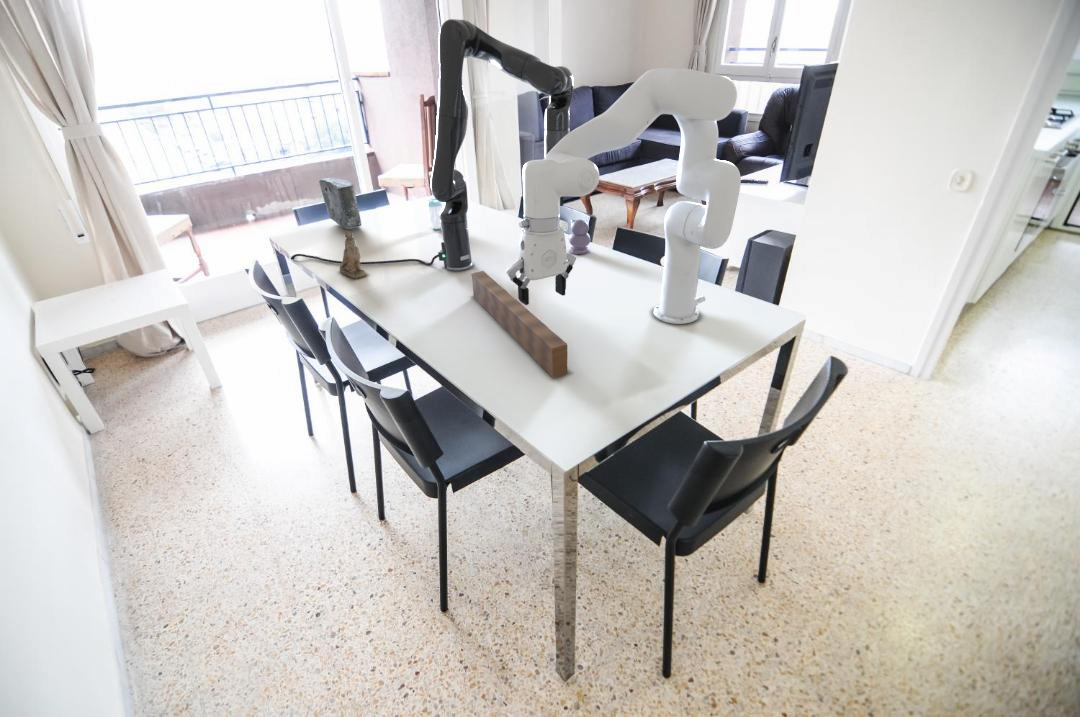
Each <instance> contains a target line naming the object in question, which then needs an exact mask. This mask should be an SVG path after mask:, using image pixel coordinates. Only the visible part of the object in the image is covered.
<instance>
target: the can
mask: <svg viewBox="0 0 1080 717" xmlns="http://www.w3.org/2000/svg"><path fill="white" fill-rule="evenodd" d="M443 206H444V202H439V201H438V200H436V199H435V198H432V199H428V201H427V204H426V207H427V211H428V212H427V213H428V219H429V226H430V228H431V229H433V230H442V229H441V223H440V211H441V210H442V208H443Z"/></svg>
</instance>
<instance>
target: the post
mask: <svg viewBox="0 0 1080 717" xmlns="http://www.w3.org/2000/svg"><path fill="white" fill-rule="evenodd" d="M470 276H471V283H472V284H471V286H472V292H473V298H474V299H475V300H476V301H477V302H478V303H479V305H481V306H482V307H483V308H484V309H485V311H487V313H488V314H490V315H491V316H492V317H493V319H495V321H496V322H497V323H498V324H499V325H500V326H502V328H503V329H504V330H506V332H507V333H508V334H509V335H510V336H511V337H512V338H513V339H514V340H515V342H517V343H518V344H519V345H520V346H521V347H522V348H523V349H524V350H525V351H526V352H527V353H528V355H529V356H531V357H532V358H533V360H534V361H535V362H536V363H537V364H539V366H540V367H541V368H542V369H543V370H545V372H546V373H547V374H548V375H549V376H550V377H551V378H552V379H555V378H558V377H560V376H563V375H566V374H568V343H567V342H566V341H564V340H563V339H562V338H561V337H560V336H559V335H558V334H557V333H555V331H553V330H552V329H551V328H550V327H549V326H547V325H546V324H545V323H544V322H543V321H542V320H540V319H539V318H538V317H537V316H536V315H535V314H534V313H532V312H531V311H530V310H529V309H528V308H527V307H525V305H524V304H523V303H522V302H520V301H519V300H517V299H516V298H515V297H514V296H513V295H512V294H510V293H509V292H508V291H507V290H506V289H505V288H504V287H502V285H500V284H499V283H498V282H497V281H496V280H494V278H492V277H491V276H490V275H489V274H487V273H486V272H485V271H484V270H481V271H476V272H475V271H474V272H471V273H470Z"/></svg>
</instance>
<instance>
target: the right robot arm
mask: <svg viewBox="0 0 1080 717" xmlns="http://www.w3.org/2000/svg"><path fill="white" fill-rule="evenodd" d="M737 98H738V91H737V87H736V84H735V83H734V81H733V80H732V79H731V78H729V77H728V76H725V75H720V74H716V73H710V72H704V71H701V70H696V69H692V68H686V67H655V68H651V69H648V70H647V71H645V72H644V73H643V74H641V75H640V76H639V77H638V78H637V79H636V80H635V81H634V82H633V83H632V84H631V85H630V86H629V87H628V88H627V90H625V91H624V92H623V94H621V96H619V97H618V99H616V101H615V102H614V103H613V104H611V105H610V106H609V107H608V109H606V110H605V111H604V112H602V113H600V114H599V115H597V116H595V117H593V118H591V119H590V120H588V121H586V122H585V123H582V124H581V125H579V126H578V127H576V128H574V129H573V130H571V131H570V133H568V134H567V135H566V136H564V137H563V138H562V139H561V140H560V141H559V142H558V143H557V144H556V145H555V146H554V147H553V148H552V149H551V150H550V151H549V153H548V154H547V155H546V156H545V155H544V158H543V159H542V158H541V159H532V160H529V161H527V162H525V163H524V165H523V167H522V193H523V197H522V198H523V216H522V219H523V220H521V221H519V222H518V226H519V228H520V229H522V230H521V234H520V238H519V247H518V248H519V249H518V260H517V261H516V262H515V263H513V264H512V265H511V266H509V267H508V268H507V269H505V270H506V271H505V272H506V275H507V276H508V278H509V279H510V281H511V282H512V283H514V284H515V285H516V286H517V298H518V301H519V302H520V303H521V304H522V305H524V306H528V305H529V304H530V289H529V288H528V285H529V284H530V282H531V281H537V280H543V279H547V278H550V277H555V278H554V279H555V285H554V286H555V288H554V290H555V292H556V293H557V294H558V295H561V297H563V296H566V290H567V279H568V278H569V274H570V273H571V272H572V270H573V269H574V265H575V262H576V259H577V257H576V255H573V254H571V253H569V252H567V242H566V236H565V230H564V228H563V227H562V226H561V206H560V197H562V196H563V197H576V198H577V197H578V198H579V197H584V196H587V195H590V194H591V193H592V192H594V191H595V189H596V188H597V187H598V185H599V181H600V171H599V168H598V166H597V165H596V164H595V163H594V162H593V161H592V160H590V158H592V157H594V156H597V155H600V154H604V153H608V152H613V151H616V150H620V149H623V148H626V147H628V146H631V145H632V144H633V143H634V142H635V141H636V140H637V139H638V138H639V137H640V136H641V135H642V133H644V131H646V130H647V128H649V127H650V126H651V125H652V123H653V122H655V121H656V120H657V118H658V117H660V116H661V115H670V116H671V115H672V117H674V119H675V120H676V122H677V124H678V127H679V130H680V136H681V138H680V149H679V157H678V164H677V171H676V176H675V177H676V178H675V179H676V180H675V188H676V190H677V192H678V193H679V194H681V195H682V196H684V197H688V198H690V199H691V198H692V199H695V200H699V201H703V202H706V203H705V204H701V203H697V202H694V201H693V202H692V201H688V200H687V201H685V200H680V201H677V202H675V203H673V204H671V206H670V207H669V208H668V209H667V211H666V212H665V215H664V220H663V229H664V240H665V245H664V246H665V248H664V260H663V269H662V278H661V288H660V289H661V290H660V298H659V303H658V304H656V305H655V306H654V308H653V315H654V317H655V318H656V319H658V320H660V321H662V322H664V323H668V324H672V325H673V324H675V325H685V324H690V323H693V322H695V321H697V320H698V319H699V316H700V311H699V310H698V309H697V306H698V305H699V304H701V303H704V302H705V301H706V297H705V295H699V296H697V291H698V284H699V277H700V271H701V270H700V269H701V262H702V249H701V247H702V248H706V249H710V250H711V249H712V250H716V249H719V248H721V247H722V246H723V245H724V244H725V243H726V242H727V241H728V239H729V237H730V235H731V232H732V229H733V225H734V222H735V221H734V220H735V215H736V211H737V205H738V201H739V196H740V191H741V185H742V180H741V179H742V178H741V173H740V170H739V168H738V167H737V166H736V165H735V164H734V163H732V162H730V161H727V160H720V159H717V152H718V143H719V128H718V123H717V121H721V120H724V119H726V118H727V117H728V116H729V115H730V114H731V113H732V111H733V110H734V108H735V106H736V102H737ZM518 271H519V276H517V272H518Z"/></svg>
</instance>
